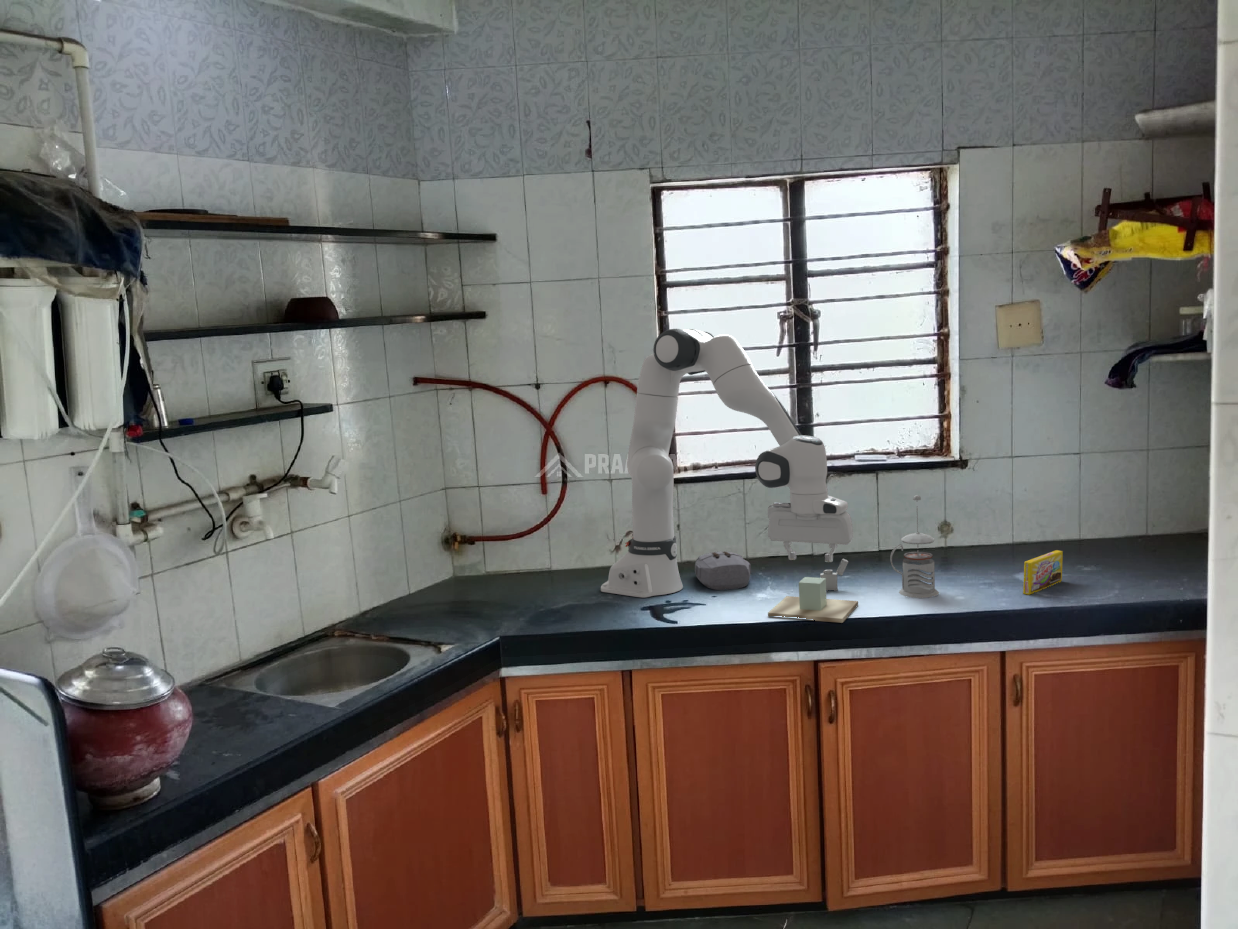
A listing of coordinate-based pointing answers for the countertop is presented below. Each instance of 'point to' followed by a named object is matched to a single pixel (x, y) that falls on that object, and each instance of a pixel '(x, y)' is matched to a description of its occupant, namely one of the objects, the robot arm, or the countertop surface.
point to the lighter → (833, 575)
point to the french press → (917, 567)
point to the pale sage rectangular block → (812, 593)
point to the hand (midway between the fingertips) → (810, 560)
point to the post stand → (829, 613)
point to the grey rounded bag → (722, 570)
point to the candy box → (1042, 572)
